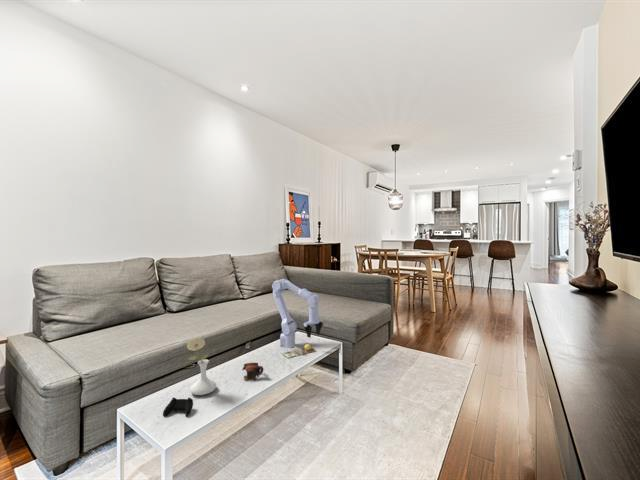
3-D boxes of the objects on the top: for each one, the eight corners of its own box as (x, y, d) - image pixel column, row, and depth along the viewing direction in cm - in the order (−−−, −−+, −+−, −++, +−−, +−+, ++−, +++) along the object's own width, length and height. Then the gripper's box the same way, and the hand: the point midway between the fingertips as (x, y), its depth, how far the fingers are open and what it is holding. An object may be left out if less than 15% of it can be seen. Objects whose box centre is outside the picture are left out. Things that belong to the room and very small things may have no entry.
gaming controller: (191, 418, 123) (196, 399, 128) (188, 415, 120) (193, 396, 125) (165, 418, 123) (171, 399, 128) (161, 415, 120) (167, 396, 125)
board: (287, 360, 175) (287, 354, 175) (280, 355, 182) (280, 349, 182) (316, 353, 186) (316, 347, 186) (308, 348, 194) (308, 343, 194)
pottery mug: (238, 381, 150) (238, 364, 154) (248, 382, 158) (248, 365, 162) (259, 378, 148) (259, 360, 152) (268, 379, 155) (268, 362, 159)
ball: (303, 351, 186) (303, 345, 185) (304, 349, 190) (304, 342, 189) (310, 352, 185) (310, 345, 185) (311, 349, 189) (311, 343, 189)
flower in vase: (218, 384, 147) (218, 332, 146) (214, 396, 135) (214, 341, 135) (189, 386, 144) (189, 334, 144) (183, 399, 133) (183, 342, 133)
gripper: (309, 317, 180) (309, 340, 181) (326, 313, 191) (326, 334, 191) (301, 315, 185) (301, 337, 186) (318, 311, 196) (318, 332, 196)
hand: (313, 335), depth 189 cm, fingers open, 7 cm apart
